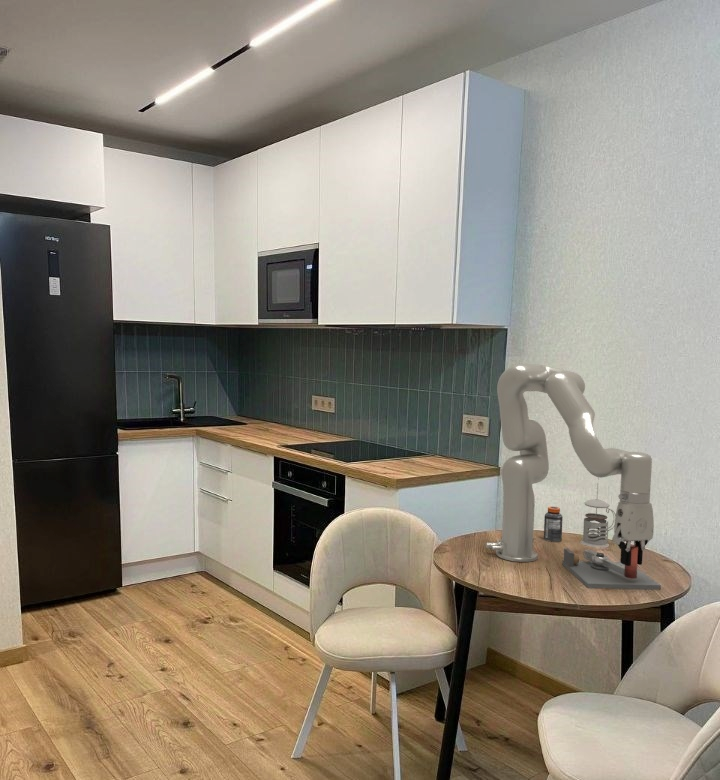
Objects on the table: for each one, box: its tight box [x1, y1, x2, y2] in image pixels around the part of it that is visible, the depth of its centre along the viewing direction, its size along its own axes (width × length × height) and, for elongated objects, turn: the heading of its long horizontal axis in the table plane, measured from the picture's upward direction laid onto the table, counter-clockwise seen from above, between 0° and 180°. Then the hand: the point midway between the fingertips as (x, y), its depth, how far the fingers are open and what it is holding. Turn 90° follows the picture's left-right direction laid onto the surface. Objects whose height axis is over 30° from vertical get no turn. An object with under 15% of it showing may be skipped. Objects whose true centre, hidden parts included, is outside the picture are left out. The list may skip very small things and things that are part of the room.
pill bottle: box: [543, 506, 563, 543], centre depth 219 cm, size 6×6×11 cm
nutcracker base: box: [562, 547, 662, 590], centre depth 182 cm, size 20×20×5 cm
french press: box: [579, 484, 616, 548], centre depth 215 cm, size 10×12×25 cm
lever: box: [583, 544, 639, 579], centre depth 182 cm, size 4×19×9 cm, turn 20°
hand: (631, 563), depth 175 cm, fingers closed on lever, 3 cm apart
